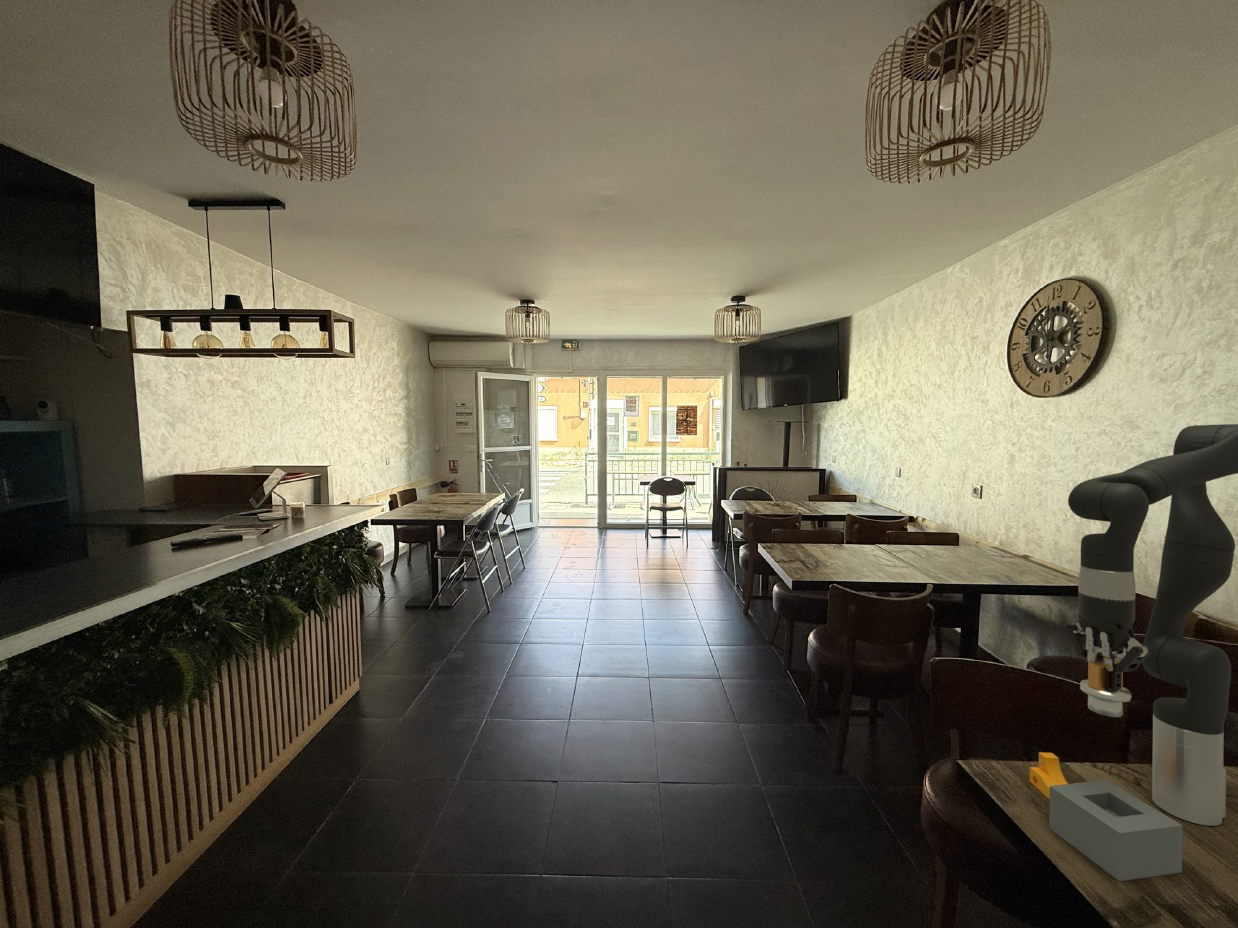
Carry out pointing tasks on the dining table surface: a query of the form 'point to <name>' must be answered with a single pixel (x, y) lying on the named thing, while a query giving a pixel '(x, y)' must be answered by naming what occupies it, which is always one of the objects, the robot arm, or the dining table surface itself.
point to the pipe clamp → (1047, 773)
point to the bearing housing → (1116, 830)
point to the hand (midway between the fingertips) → (1105, 687)
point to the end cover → (1103, 692)
